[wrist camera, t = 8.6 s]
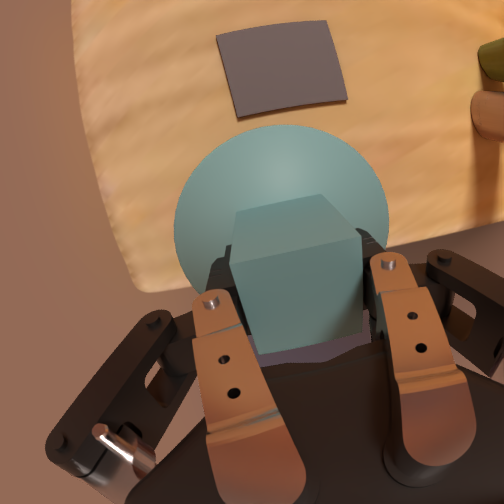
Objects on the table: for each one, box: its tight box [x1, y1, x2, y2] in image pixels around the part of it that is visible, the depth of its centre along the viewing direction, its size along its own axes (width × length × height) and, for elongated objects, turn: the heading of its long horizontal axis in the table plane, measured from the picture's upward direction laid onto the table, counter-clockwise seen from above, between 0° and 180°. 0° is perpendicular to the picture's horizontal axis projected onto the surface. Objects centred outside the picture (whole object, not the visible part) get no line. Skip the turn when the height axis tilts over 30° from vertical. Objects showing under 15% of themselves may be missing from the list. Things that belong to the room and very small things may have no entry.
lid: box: [174, 125, 389, 355], centre depth 11 cm, size 11×11×6 cm
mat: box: [216, 20, 348, 117], centre depth 28 cm, size 15×12×1 cm
